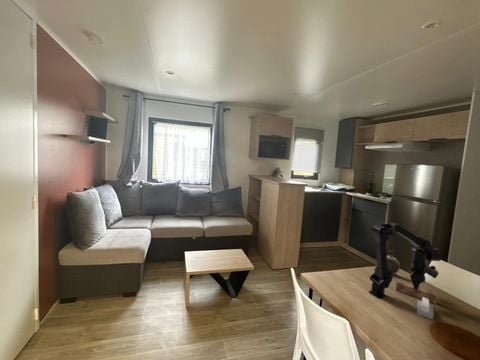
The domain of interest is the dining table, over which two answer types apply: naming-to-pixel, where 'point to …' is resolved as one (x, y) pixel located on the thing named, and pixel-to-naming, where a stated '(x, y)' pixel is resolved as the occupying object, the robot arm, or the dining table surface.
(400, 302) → the dining table surface
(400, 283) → the walnut bar
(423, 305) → the ridge stand
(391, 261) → the alarm clock
